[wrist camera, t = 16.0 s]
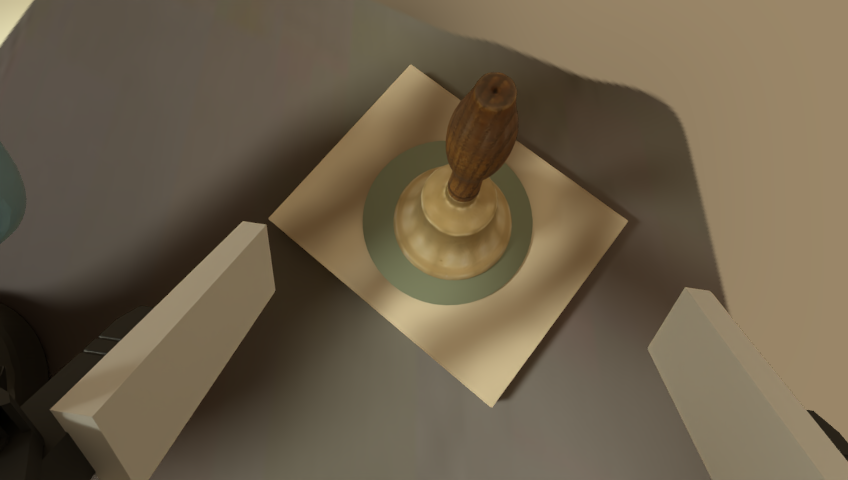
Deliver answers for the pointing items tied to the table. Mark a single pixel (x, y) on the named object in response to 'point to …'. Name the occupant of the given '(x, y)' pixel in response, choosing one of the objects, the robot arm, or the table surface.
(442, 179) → the hand bell
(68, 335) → the table surface
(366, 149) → the bell board
